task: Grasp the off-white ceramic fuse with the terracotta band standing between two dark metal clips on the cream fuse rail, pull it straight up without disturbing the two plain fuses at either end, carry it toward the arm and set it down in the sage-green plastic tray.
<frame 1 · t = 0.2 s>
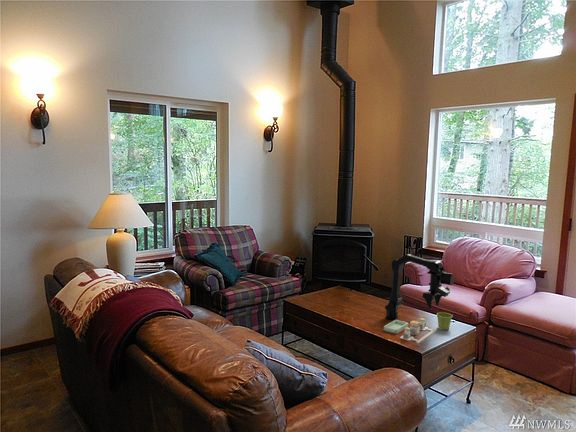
hand: (433, 306, 251), 14 cm above the table, fingers open, 9 cm apart
fuse: (414, 333, 246), on the table
tray: (395, 328, 253), on the table
plant pot: (443, 328, 255), on the table
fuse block: (414, 333, 246), on the table
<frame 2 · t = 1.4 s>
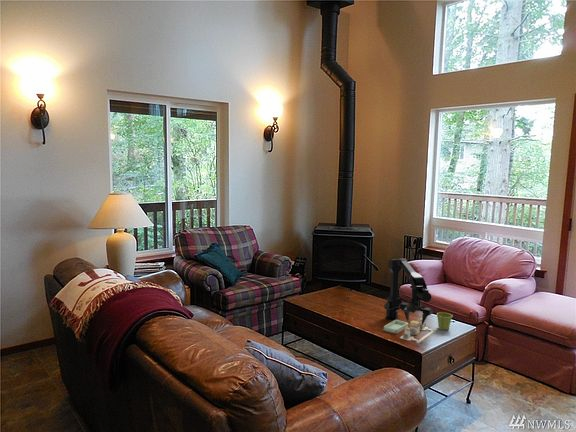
hand: (415, 322, 246), 6 cm above the table, fingers open, 9 cm apart
nothing on the table moved.
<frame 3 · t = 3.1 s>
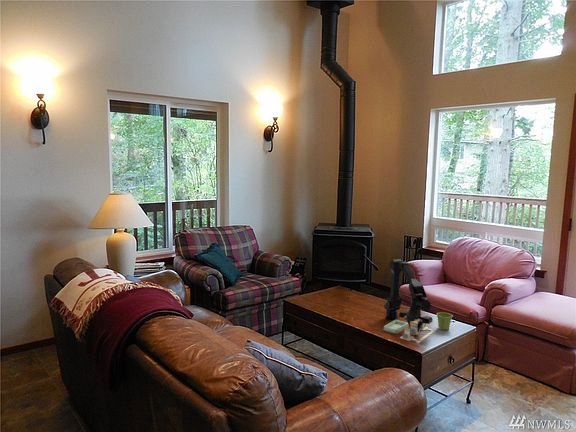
hand: (414, 330, 246), 1 cm above the table, fingers closed on fuse, 4 cm apart
fuse: (414, 333, 246), on the table, touching gripper
everything else where it was.
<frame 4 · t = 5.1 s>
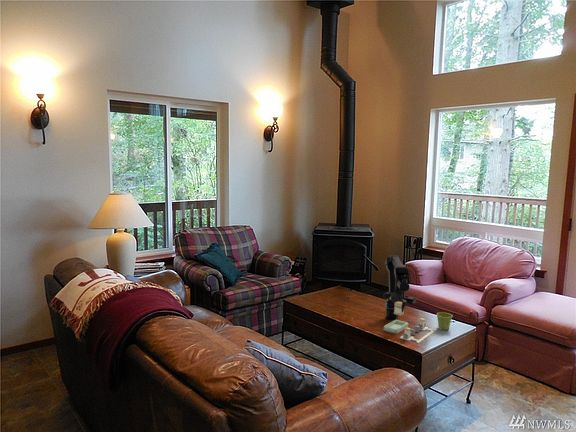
hand: (398, 311, 251), 11 cm above the table, fingers closed on fuse, 4 cm apart
fuse: (398, 313, 251), point 10 cm above the table, touching gripper
everything else where it was.
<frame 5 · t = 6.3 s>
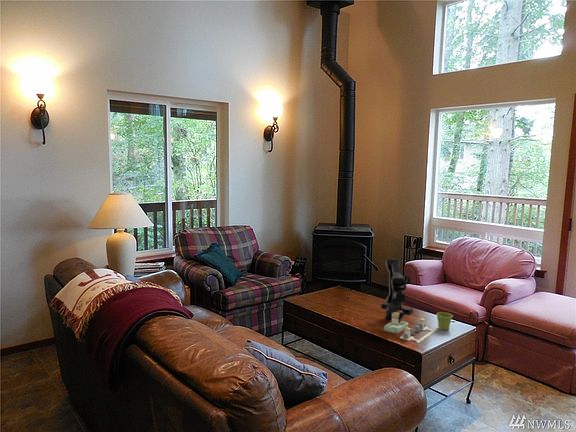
hand: (396, 322, 252), 4 cm above the table, fingers closed on fuse, 4 cm apart
fuse: (396, 324, 253), point 3 cm above the table, touching gripper
everything else where it was.
when the fingers open (3 cm above the table, at t = 7.1 s): fuse drops 1 cm, resting on tray.
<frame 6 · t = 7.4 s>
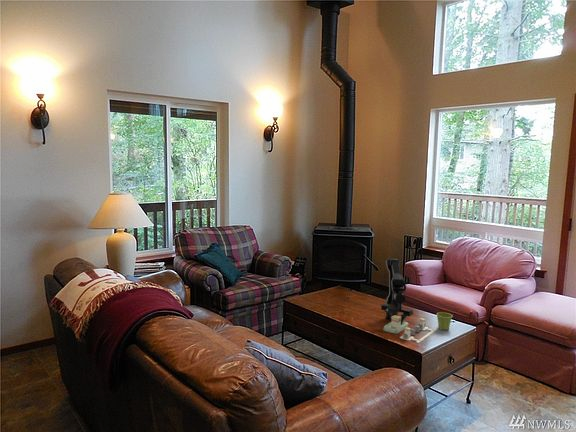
hand: (396, 323, 252), 3 cm above the table, fingers open, 7 cm apart
fuse: (395, 327, 253), point 1 cm above the table, touching tray
everything else where it was.
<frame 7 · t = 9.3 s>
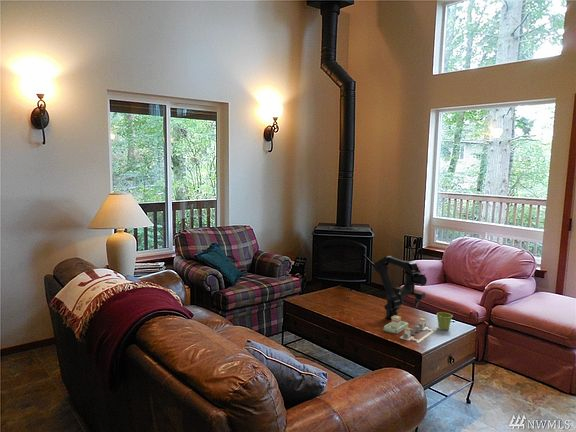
hand: (408, 306, 259), 12 cm above the table, fingers open, 9 cm apart
nothing on the table moved.
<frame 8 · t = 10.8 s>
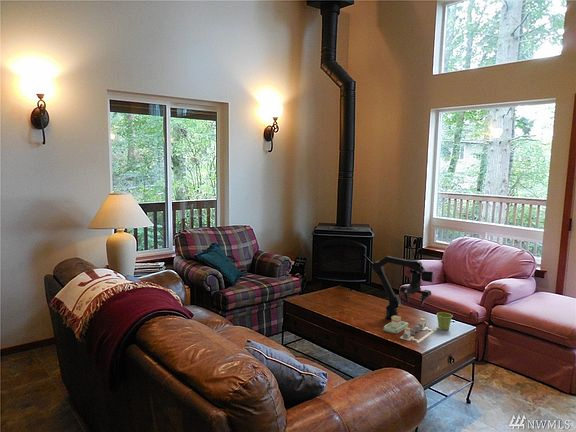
hand: (414, 304, 263), 12 cm above the table, fingers open, 9 cm apart
nothing on the table moved.
at the end: fuse inside the target area on the tray (0.1 cm from its centre), point 0.6 cm above the tray's base; fuse touching tray; the gripper is holding nothing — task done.
